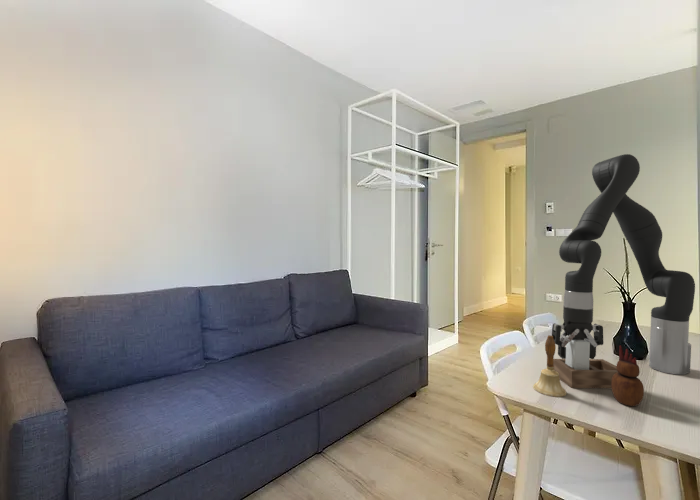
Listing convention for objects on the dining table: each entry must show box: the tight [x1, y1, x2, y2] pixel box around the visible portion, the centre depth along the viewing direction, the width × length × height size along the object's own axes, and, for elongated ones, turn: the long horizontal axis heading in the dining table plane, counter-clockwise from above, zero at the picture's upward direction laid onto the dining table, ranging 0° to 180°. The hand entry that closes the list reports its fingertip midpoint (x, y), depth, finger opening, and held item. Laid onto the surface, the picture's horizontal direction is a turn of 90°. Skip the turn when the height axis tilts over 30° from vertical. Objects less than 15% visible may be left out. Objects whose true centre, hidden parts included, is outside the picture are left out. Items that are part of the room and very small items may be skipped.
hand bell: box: [532, 334, 568, 398], centre depth 97 cm, size 8×8×16 cm
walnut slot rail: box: [553, 358, 618, 389], centre depth 104 cm, size 16×10×5 cm, turn 89°
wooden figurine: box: [610, 345, 645, 407], centre depth 90 cm, size 7×6×15 cm
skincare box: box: [565, 335, 590, 370], centre depth 104 cm, size 6×4×12 cm
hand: (576, 358), depth 103 cm, fingers open, 8 cm apart
